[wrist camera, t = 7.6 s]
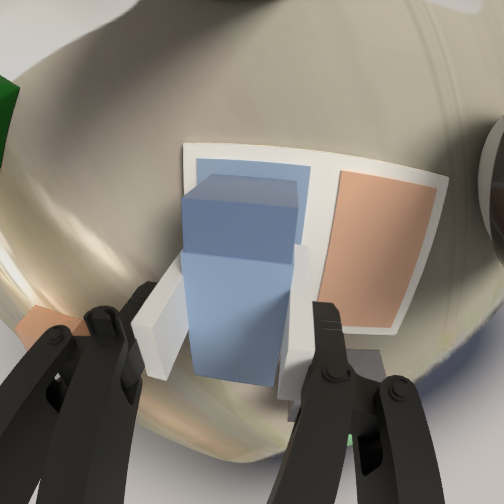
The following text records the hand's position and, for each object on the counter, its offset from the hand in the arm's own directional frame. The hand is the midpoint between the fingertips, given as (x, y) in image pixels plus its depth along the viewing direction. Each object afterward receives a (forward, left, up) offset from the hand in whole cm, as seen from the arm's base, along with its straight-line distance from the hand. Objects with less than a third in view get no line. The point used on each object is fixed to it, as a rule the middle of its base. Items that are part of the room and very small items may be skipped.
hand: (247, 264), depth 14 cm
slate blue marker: (0, 0, 0) cm, 0 cm away
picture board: (+3, 0, -2) cm, 4 cm away
